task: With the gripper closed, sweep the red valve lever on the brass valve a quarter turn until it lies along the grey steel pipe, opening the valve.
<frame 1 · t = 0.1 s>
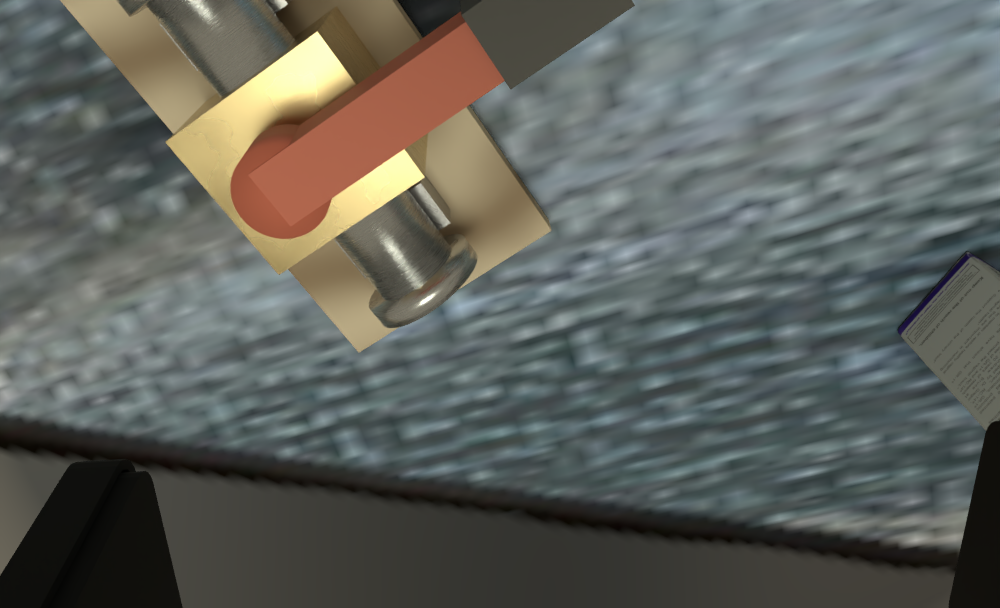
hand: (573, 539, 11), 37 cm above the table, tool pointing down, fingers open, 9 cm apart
supplement box: (964, 314, 52), on the table
valve lever: (418, 87, 35), point 11 cm above the table, hinge at 0.0°
mounting board: (321, 110, 45), on the table
pipe valve: (321, 110, 45), resting on mounting board
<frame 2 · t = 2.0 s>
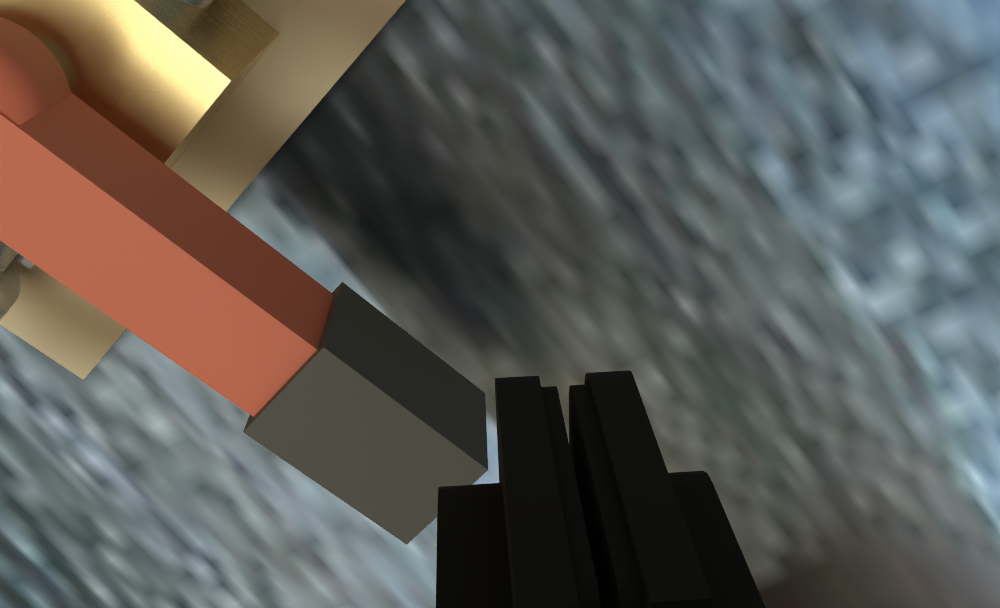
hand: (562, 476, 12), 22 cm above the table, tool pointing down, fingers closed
valve lever: (200, 275, 23), point 11 cm above the table, hinge at 0.0°
mounting board: (126, 26, 30), on the table
pipe valve: (126, 26, 30), resting on mounting board
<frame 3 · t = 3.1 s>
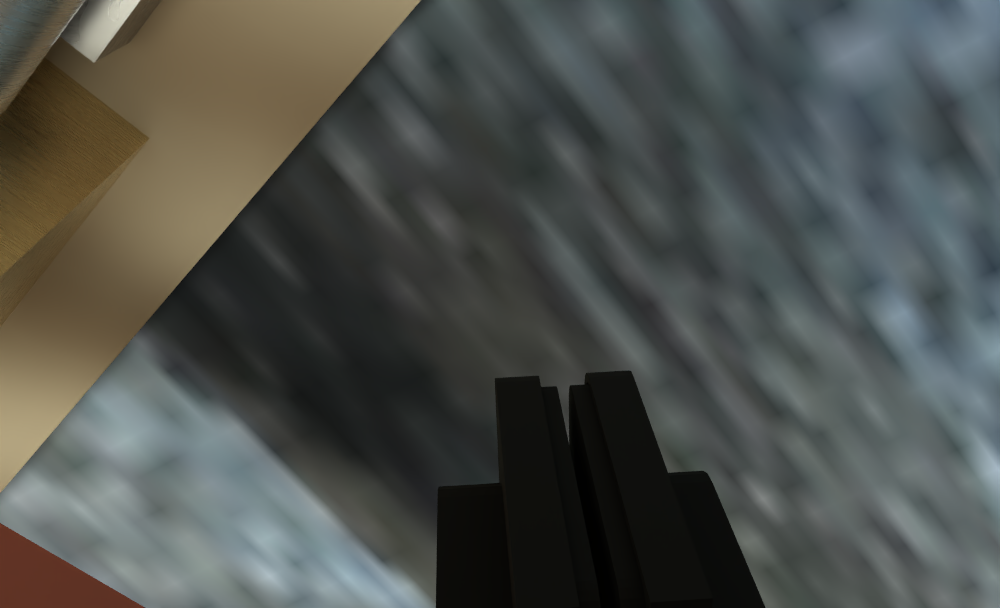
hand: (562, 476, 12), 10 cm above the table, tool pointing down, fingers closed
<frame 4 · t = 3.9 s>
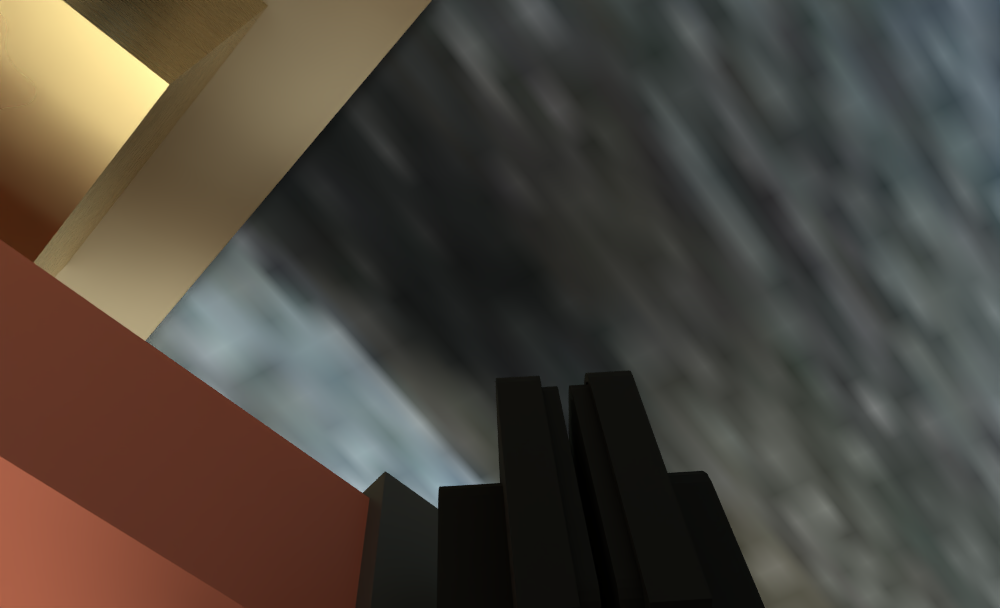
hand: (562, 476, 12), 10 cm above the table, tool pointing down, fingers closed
valve lever: (104, 489, 11), point 11 cm above the table, hinge at 1.1°, touching gripper
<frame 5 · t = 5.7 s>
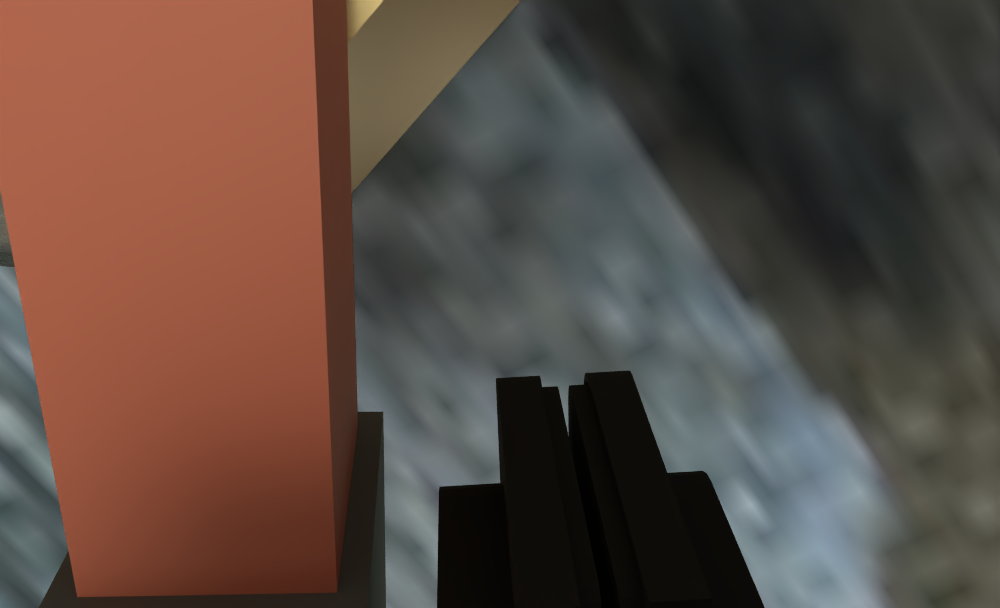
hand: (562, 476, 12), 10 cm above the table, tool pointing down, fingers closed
valve lever: (220, 239, 9), point 11 cm above the table, hinge at 49.8°, touching gripper
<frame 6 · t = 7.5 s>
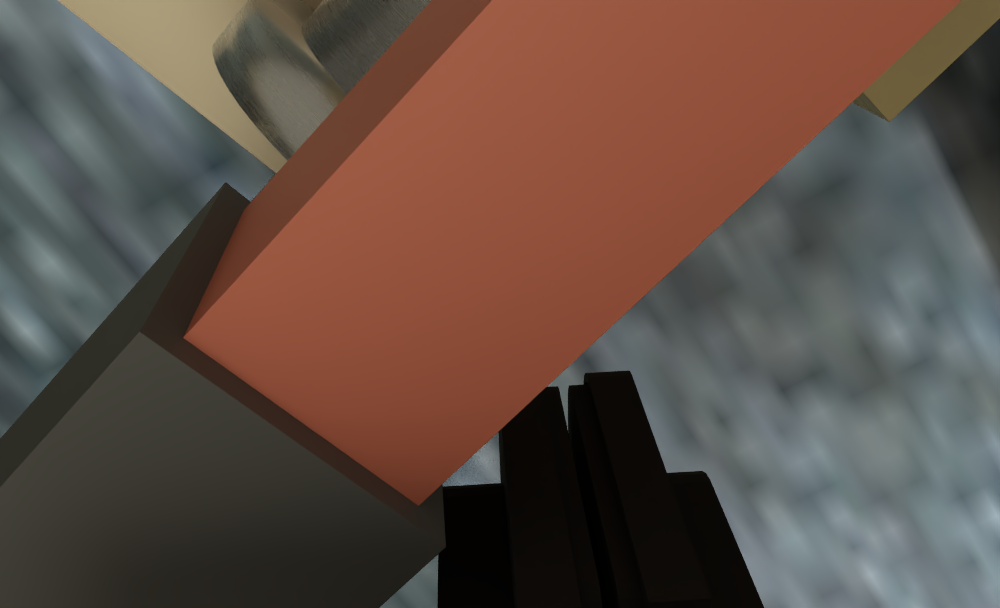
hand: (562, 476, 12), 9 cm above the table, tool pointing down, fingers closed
valve lever: (533, 112, 9), point 11 cm above the table, hinge at 91.1°, touching gripper
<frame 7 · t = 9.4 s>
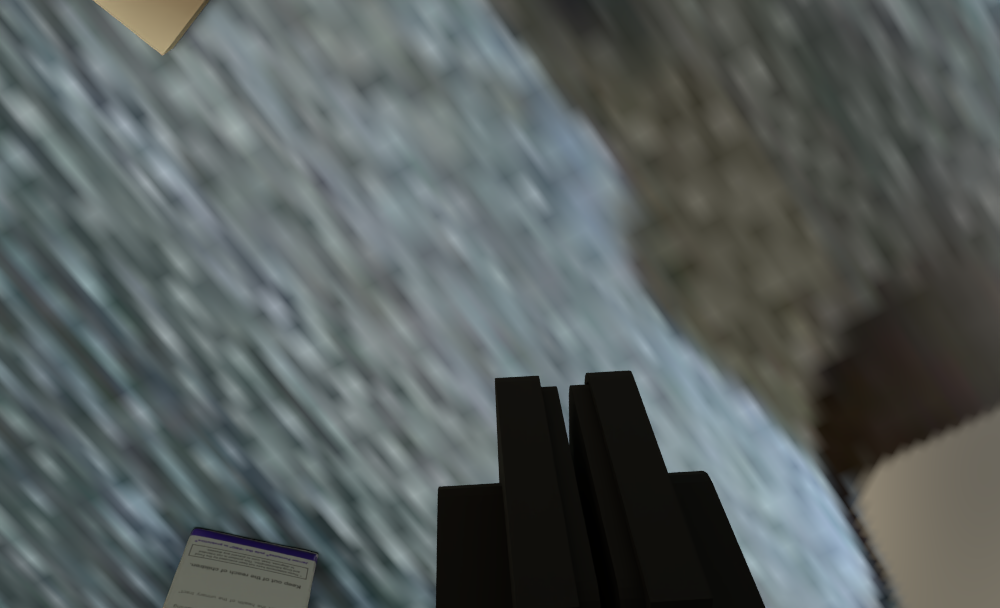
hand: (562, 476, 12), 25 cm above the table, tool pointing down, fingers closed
supplement box: (242, 584, 43), on the table
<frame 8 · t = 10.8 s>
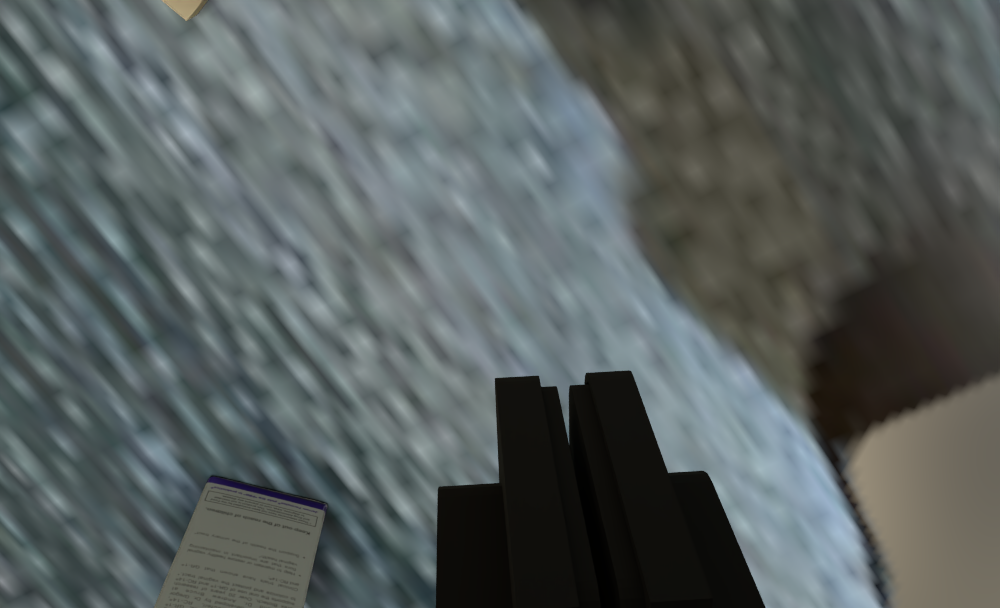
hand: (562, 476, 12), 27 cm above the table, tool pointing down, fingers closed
supplement box: (255, 531, 45), on the table
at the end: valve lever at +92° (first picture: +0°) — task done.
